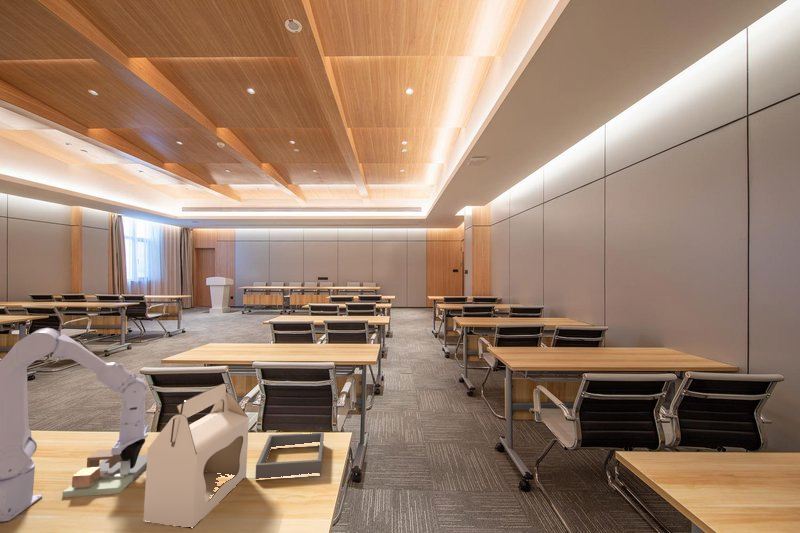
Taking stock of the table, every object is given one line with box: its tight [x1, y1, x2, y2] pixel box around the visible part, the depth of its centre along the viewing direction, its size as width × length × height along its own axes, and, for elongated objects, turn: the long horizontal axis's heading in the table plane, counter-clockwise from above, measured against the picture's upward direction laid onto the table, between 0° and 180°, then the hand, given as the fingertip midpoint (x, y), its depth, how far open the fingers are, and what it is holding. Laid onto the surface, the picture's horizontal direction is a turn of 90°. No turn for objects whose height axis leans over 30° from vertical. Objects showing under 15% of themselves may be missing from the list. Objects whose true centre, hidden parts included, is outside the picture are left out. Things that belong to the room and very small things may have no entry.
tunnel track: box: [62, 448, 147, 498], centre depth 100 cm, size 18×13×6 cm
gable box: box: [142, 383, 250, 528], centre depth 92 cm, size 22×13×28 cm, turn 172°
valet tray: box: [255, 431, 325, 479], centre depth 110 cm, size 20×19×4 cm
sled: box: [71, 459, 131, 489], centre depth 95 cm, size 8×10×4 cm
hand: (129, 467), depth 99 cm, fingers closed
